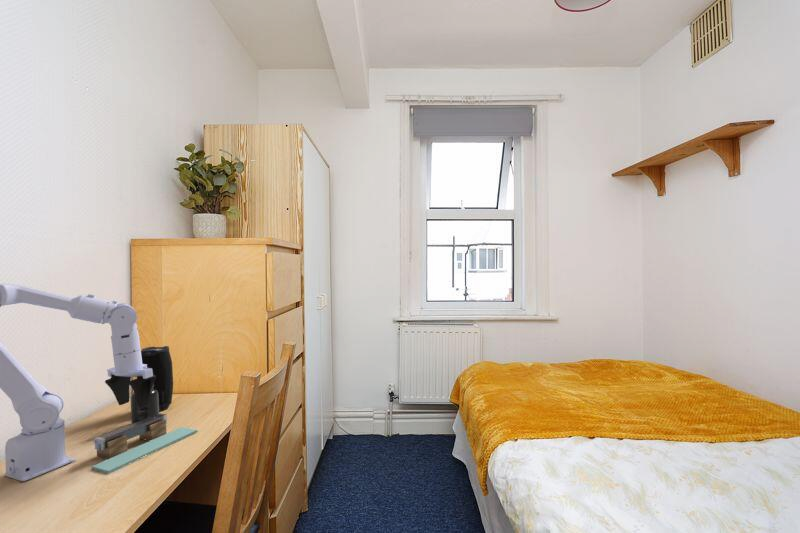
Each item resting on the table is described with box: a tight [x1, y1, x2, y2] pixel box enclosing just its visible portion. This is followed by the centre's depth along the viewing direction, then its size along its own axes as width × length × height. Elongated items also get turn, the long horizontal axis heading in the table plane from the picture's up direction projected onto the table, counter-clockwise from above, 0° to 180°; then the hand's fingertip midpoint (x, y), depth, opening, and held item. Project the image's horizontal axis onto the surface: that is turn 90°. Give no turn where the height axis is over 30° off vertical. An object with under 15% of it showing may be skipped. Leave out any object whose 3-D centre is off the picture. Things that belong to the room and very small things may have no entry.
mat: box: [91, 426, 198, 474], centre depth 95 cm, size 22×6×1 cm, turn 157°
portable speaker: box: [141, 345, 174, 412], centre depth 123 cm, size 9×9×20 cm
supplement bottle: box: [129, 383, 160, 424], centre depth 112 cm, size 7×7×12 cm
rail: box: [94, 412, 168, 451], centre depth 97 cm, size 16×2×2 cm, turn 157°
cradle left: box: [96, 435, 128, 460], centre depth 92 cm, size 4×5×4 cm
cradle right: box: [138, 420, 167, 441], centre depth 101 cm, size 4×5×4 cm
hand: (133, 404), depth 97 cm, fingers open, 7 cm apart
